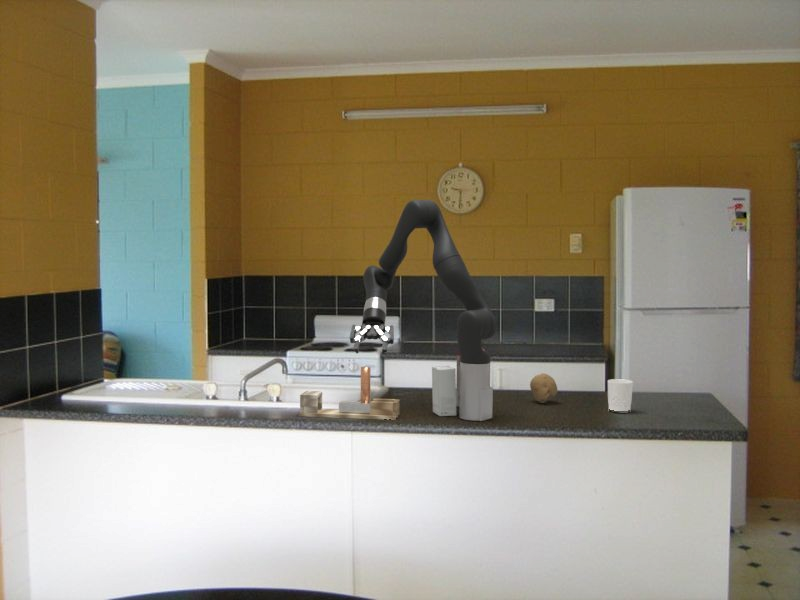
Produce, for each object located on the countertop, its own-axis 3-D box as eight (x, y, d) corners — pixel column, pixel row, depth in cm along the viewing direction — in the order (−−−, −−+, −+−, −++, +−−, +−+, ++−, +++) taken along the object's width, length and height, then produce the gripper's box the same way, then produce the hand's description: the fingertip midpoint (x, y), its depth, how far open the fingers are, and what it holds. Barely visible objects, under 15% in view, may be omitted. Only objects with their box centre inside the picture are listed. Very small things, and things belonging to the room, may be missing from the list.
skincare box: (456, 416, 252) (457, 368, 251) (438, 416, 250) (438, 369, 250) (449, 410, 260) (449, 364, 259) (430, 411, 259) (431, 365, 258)
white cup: (615, 408, 267) (615, 378, 266) (636, 412, 261) (637, 381, 260) (602, 411, 261) (602, 380, 261) (624, 415, 256) (624, 383, 255)
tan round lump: (549, 399, 281) (549, 371, 280) (562, 404, 273) (562, 375, 272) (525, 401, 278) (526, 372, 278) (537, 405, 270) (538, 376, 269)
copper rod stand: (391, 412, 251) (392, 367, 250) (390, 414, 248) (390, 368, 247) (340, 410, 253) (341, 365, 252) (338, 412, 250) (339, 367, 249)
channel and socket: (399, 414, 253) (399, 393, 253) (396, 419, 245) (396, 398, 245) (305, 411, 257) (305, 390, 257) (298, 416, 249) (298, 394, 249)
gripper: (352, 306, 269) (347, 344, 258) (395, 306, 268) (391, 345, 257) (354, 320, 275) (349, 358, 264) (396, 321, 273) (392, 359, 263)
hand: (370, 352), depth 261 cm, fingers open, 8 cm apart
